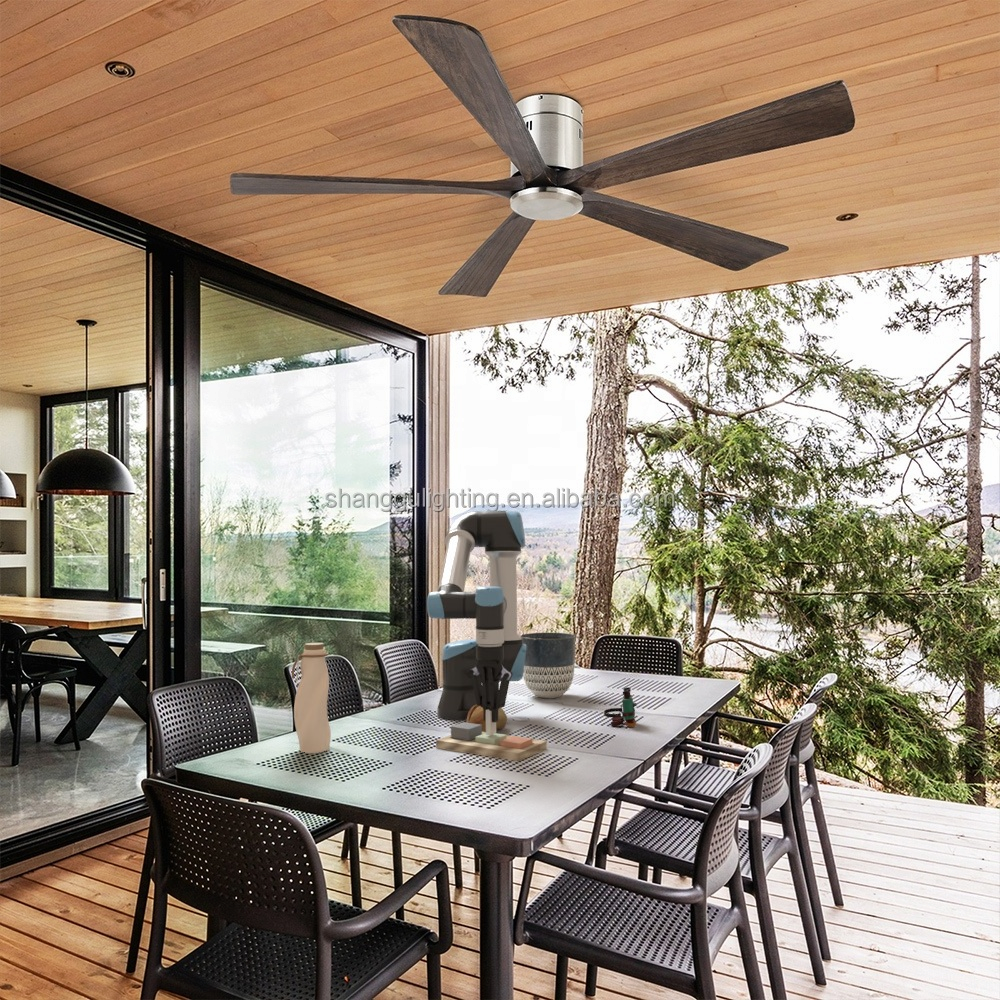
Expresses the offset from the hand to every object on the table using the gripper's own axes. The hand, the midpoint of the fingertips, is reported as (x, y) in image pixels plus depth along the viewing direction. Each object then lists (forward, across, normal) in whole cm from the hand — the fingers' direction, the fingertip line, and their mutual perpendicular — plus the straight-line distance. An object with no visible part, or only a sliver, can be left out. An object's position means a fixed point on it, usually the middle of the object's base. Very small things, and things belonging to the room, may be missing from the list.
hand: (491, 733), depth 212 cm
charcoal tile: (+2, -8, 0) cm, 8 cm away
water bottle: (+4, -40, -26) cm, 48 cm away
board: (+4, 0, 0) cm, 4 cm away
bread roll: (+4, -12, +15) cm, 19 cm away
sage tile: (+3, 0, 0) cm, 4 cm away
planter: (+4, -21, +68) cm, 71 cm away
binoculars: (+4, +18, +42) cm, 46 cm away
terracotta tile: (+3, +8, 0) cm, 9 cm away
